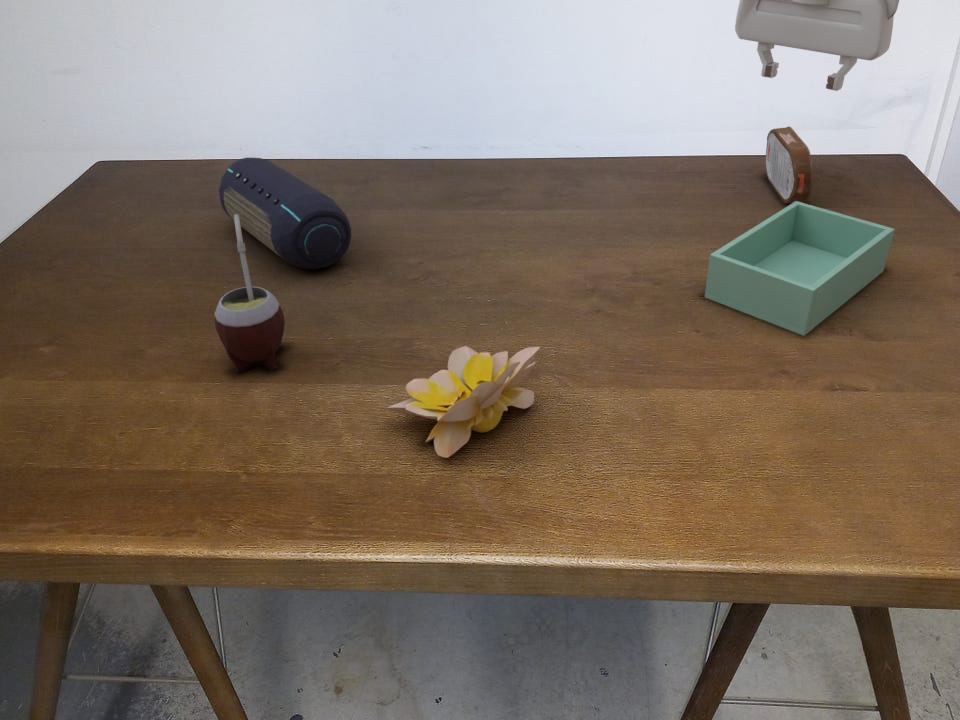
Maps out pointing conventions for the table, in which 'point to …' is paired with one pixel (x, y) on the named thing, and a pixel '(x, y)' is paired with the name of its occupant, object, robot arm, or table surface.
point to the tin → (789, 165)
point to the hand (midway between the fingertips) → (800, 82)
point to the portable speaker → (285, 213)
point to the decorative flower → (469, 395)
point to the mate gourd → (249, 321)
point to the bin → (798, 265)
